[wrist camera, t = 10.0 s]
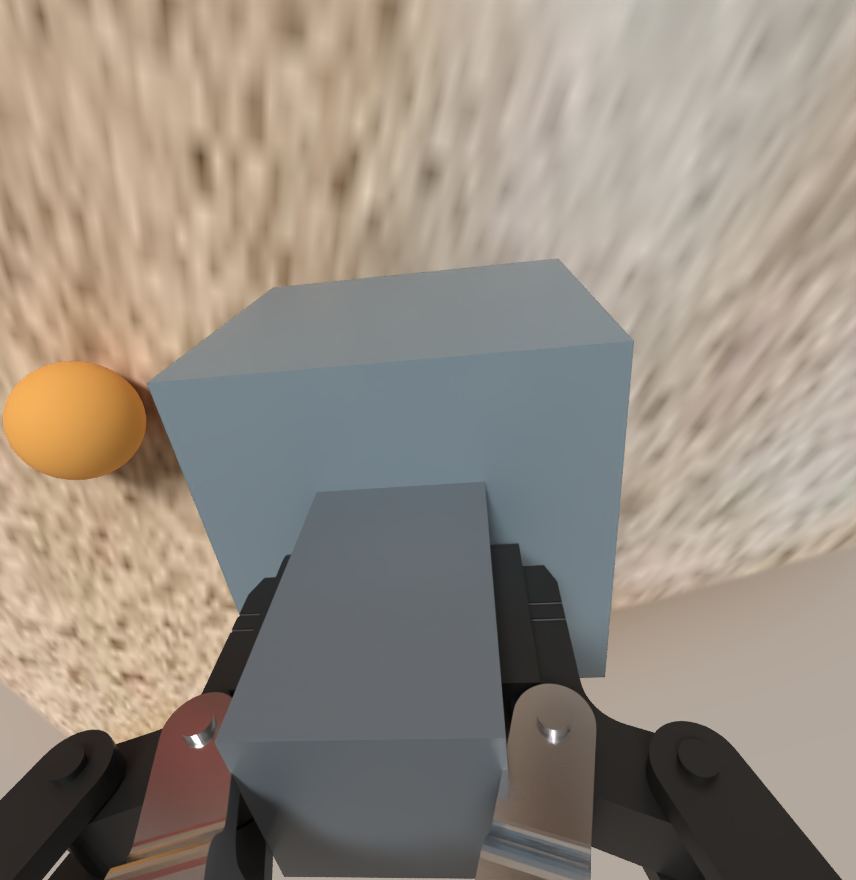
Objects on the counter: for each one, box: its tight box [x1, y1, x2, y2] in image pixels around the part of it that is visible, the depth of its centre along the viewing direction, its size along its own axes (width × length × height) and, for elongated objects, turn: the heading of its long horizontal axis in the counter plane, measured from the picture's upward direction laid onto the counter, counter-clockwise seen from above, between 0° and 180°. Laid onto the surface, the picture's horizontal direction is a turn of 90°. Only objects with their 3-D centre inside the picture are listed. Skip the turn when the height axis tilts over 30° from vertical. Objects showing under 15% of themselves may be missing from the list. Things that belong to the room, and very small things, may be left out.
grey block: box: [147, 259, 634, 879], centre depth 14 cm, size 10×10×15 cm
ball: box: [3, 361, 146, 480], centre depth 22 cm, size 5×5×5 cm
